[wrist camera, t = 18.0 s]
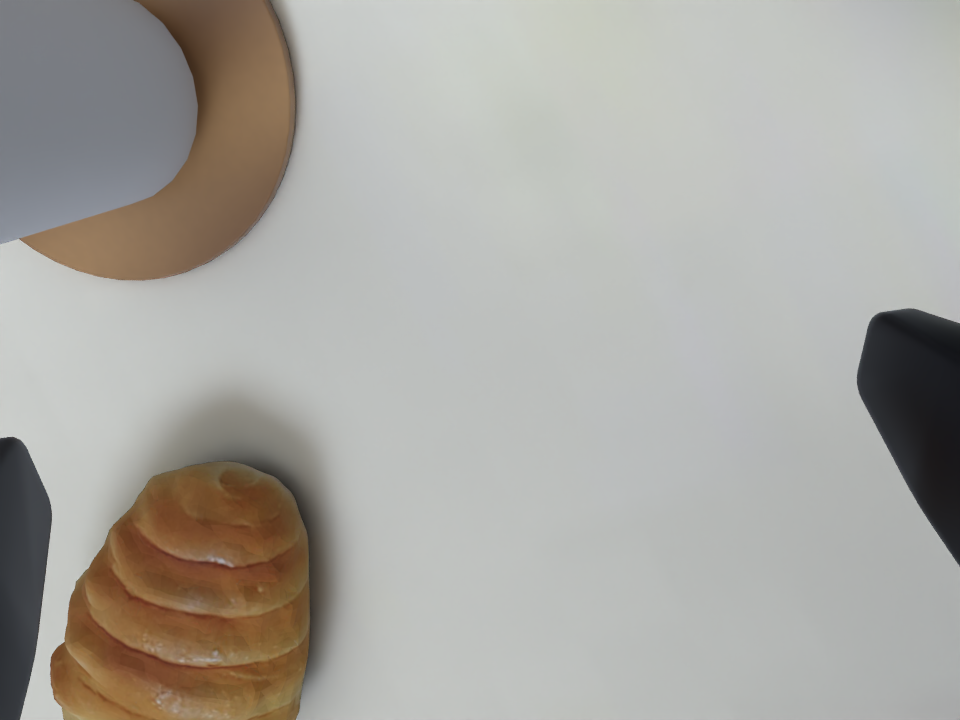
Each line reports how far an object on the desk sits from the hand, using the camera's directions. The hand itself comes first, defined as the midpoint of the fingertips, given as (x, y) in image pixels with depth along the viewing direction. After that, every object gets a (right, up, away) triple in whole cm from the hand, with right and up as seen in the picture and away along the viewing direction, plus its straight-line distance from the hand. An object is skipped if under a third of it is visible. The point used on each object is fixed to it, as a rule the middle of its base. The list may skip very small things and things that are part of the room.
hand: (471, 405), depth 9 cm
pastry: (-8, -7, +16) cm, 19 cm away
